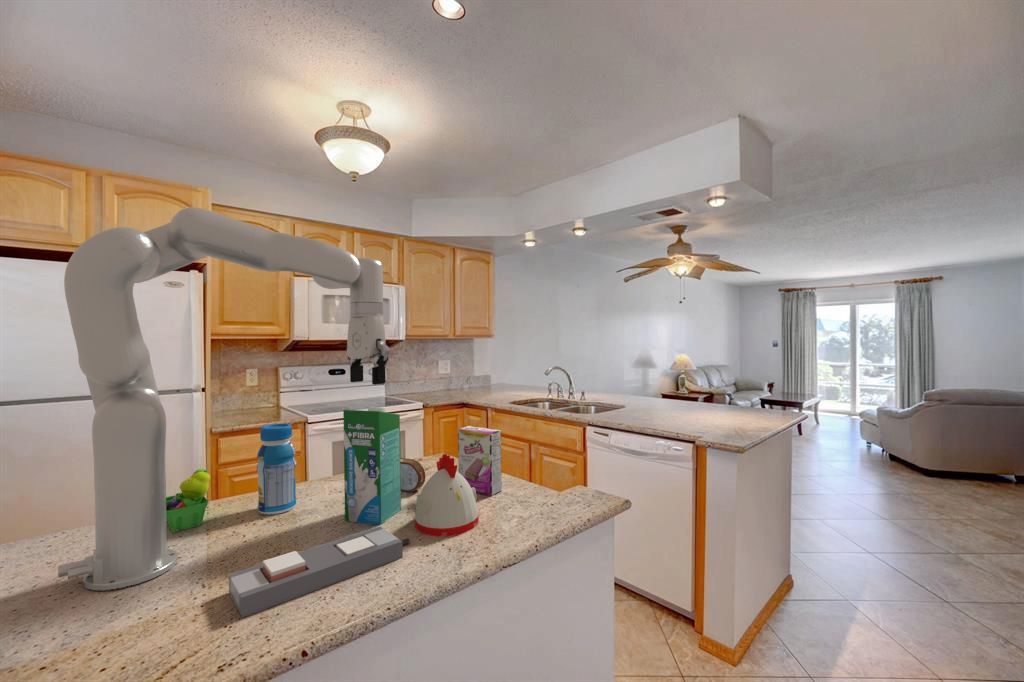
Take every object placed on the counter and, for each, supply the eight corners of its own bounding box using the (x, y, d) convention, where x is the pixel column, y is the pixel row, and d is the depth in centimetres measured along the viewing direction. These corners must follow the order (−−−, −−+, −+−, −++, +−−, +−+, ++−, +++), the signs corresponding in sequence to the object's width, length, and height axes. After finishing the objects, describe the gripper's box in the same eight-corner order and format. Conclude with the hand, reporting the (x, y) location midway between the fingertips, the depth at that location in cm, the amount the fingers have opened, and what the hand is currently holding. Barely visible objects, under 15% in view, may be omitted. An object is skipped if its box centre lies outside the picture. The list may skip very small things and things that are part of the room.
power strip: (241, 618, 65) (241, 597, 65) (228, 592, 71) (228, 574, 71) (421, 550, 85) (421, 534, 85) (398, 535, 92) (398, 520, 92)
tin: (426, 491, 119) (425, 459, 118) (419, 494, 116) (419, 462, 116) (380, 484, 124) (380, 454, 124) (373, 488, 121) (372, 457, 121)
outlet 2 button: (347, 565, 77) (347, 554, 77) (336, 555, 81) (336, 544, 81) (374, 555, 81) (374, 544, 81) (362, 546, 84) (362, 536, 84)
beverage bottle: (278, 517, 102) (277, 430, 102) (248, 514, 104) (247, 428, 104) (304, 504, 110) (303, 423, 110) (276, 501, 112) (275, 421, 112)
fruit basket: (158, 520, 101) (157, 471, 101) (205, 509, 107) (204, 463, 107) (165, 536, 93) (165, 482, 93) (216, 523, 99) (215, 472, 99)
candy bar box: (457, 489, 119) (456, 428, 119) (468, 484, 123) (468, 425, 123) (491, 497, 113) (491, 432, 113) (502, 491, 118) (501, 429, 117)
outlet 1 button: (271, 585, 69) (271, 572, 69) (263, 573, 73) (263, 560, 73) (305, 573, 73) (305, 561, 73) (295, 562, 76) (295, 550, 76)
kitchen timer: (432, 542, 88) (431, 467, 88) (404, 520, 100) (404, 453, 99) (490, 524, 97) (489, 456, 97) (459, 505, 108) (458, 444, 108)
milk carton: (401, 509, 105) (399, 404, 105) (380, 525, 97) (378, 410, 97) (368, 506, 108) (366, 403, 108) (344, 521, 99) (342, 409, 99)
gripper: (334, 312, 109) (334, 382, 109) (372, 308, 97) (373, 386, 97) (362, 313, 114) (362, 379, 115) (401, 310, 103) (402, 383, 103)
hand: (367, 382), depth 106 cm, fingers open, 9 cm apart
